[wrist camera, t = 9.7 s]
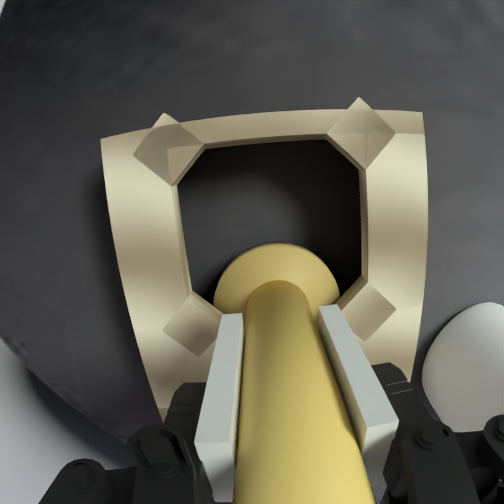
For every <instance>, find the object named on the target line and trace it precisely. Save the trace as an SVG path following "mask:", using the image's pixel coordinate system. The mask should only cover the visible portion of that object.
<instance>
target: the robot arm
mask: <svg viewBox="0 0 504 504" xmlns="http://www.w3.org/2000/svg"><path fill="white" fill-rule="evenodd" d="M318 330H319V333H320V335H321V338H322V341H323V344H324V346H325V349H326V352H327V355H328V358H329V360H330V363H331V366H332V369H333V372H334V375H335V378H336V380H337V383H338V386H339V389H340V392H341V395H342V398H343V401H344V404H345V407H346V410H347V412H348V415H349V418H350V421H351V424H352V427H353V430H354V433H355V437H356V440H357V443H358V446H359V449H360V452H361V455H362V458H363V461H364V464H365V468H366V471H367V474H368V477H369V480H370V484H371V487H372V486H377V485H380V482H381V479H382V476H383V475H384V478H385V481H386V484H387V488H386V490H385V493H384V495H383V498H382V500H381V502H380V504H504V415H497V416H494V417H492V418H491V419H490V420H488V421H487V423H486V425H485V427H484V429H483V430H481V431H471V432H453V431H452V429H451V428H450V427H449V426H447V425H446V424H444V423H442V422H438V421H434V420H433V419H432V418H431V416H430V415H429V413H428V411H427V410H426V408H425V406H424V405H423V403H422V402H421V400H420V398H419V397H418V395H417V394H416V392H415V390H413V387H412V386H411V384H410V383H409V382H408V379H407V378H406V376H405V375H404V373H403V372H402V370H401V369H400V368H398V367H397V366H395V365H394V364H392V363H391V362H387V363H381V364H376V365H370V363H369V361H368V359H367V358H366V356H365V354H364V352H363V350H362V348H361V346H360V344H359V343H358V341H357V339H356V337H355V335H354V333H353V332H352V330H351V328H350V326H349V324H348V323H347V321H346V319H345V317H344V315H343V314H342V312H341V310H340V308H339V306H338V305H337V304H335V305H326V306H318ZM244 338H245V336H244V327H243V319H242V313H237V314H222V318H221V322H220V327H219V331H218V335H217V340H216V344H215V349H214V353H213V358H212V362H211V367H210V371H209V376H208V380H207V382H184V383H183V384H182V385H181V386H180V387H179V388H178V389H177V390H176V391H175V392H174V394H173V397H172V400H171V403H170V406H169V408H168V411H167V415H166V417H165V420H164V423H163V426H161V425H155V426H149V427H145V428H143V429H141V430H139V431H137V432H135V433H134V434H133V435H132V436H131V437H130V438H129V440H128V442H127V444H126V447H127V449H128V451H129V453H130V455H131V457H132V459H133V461H134V463H135V464H136V466H134V467H130V468H124V469H114V470H105V469H104V467H103V466H102V465H101V464H100V463H99V462H97V461H94V460H92V459H85V458H83V459H78V460H74V461H72V462H70V463H68V464H66V465H65V467H63V469H62V470H61V471H60V472H59V474H58V475H57V477H56V478H55V480H54V481H53V483H52V484H51V486H50V487H49V489H48V490H47V491H46V493H45V495H44V496H43V498H42V499H41V501H40V502H39V504H211V500H212V495H213V497H214V500H215V502H233V489H234V475H235V464H236V450H237V436H238V422H239V408H240V393H241V379H242V365H243V352H244Z"/></svg>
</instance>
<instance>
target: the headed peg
mask: <svg viewBox="0 0 504 504" xmlns="http://www.w3.org/2000/svg"><path fill="white" fill-rule="evenodd" d="M339 299H340V294H339V289H338V286H337V283H336V280H335V279H334V277H333V275H332V273H331V272H330V270H329V269H328V268H327V266H326V265H325V264H324V262H323V261H322V260H321V259H320V258H319V257H318V256H317V255H315V254H314V253H313V252H311V251H309V250H308V249H306V248H304V247H301V246H299V245H296V244H292V243H287V242H269V243H263V244H259V245H256V246H253V247H251V248H249V249H247V250H245V251H243V252H242V253H240V254H239V255H238V256H236V257H235V258H234V259H233V260H232V261H231V262H230V263H229V264H228V266H227V267H226V268H225V270H224V272H223V273H222V275H221V277H220V280H219V283H218V285H217V288H216V291H215V296H214V305H213V306H214V307H215V308H216V309H218V310H219V311H220V312H222V313H223V314H237V313H242V319H243V327H244V336H245V338H244V352H243V365H242V379H241V393H240V408H239V422H238V436H237V450H236V464H235V475H234V489H233V503H232V504H377V503H376V500H375V497H374V493H373V490H372V487H371V484H370V480H369V477H368V474H367V471H366V468H365V464H364V461H363V458H362V455H361V452H360V449H359V446H358V443H357V440H356V437H355V433H354V430H353V427H352V424H351V421H350V418H349V415H348V412H347V410H346V407H345V404H344V401H343V398H342V395H341V392H340V389H339V386H338V383H337V380H336V378H335V375H334V372H333V369H332V366H331V363H330V360H329V358H328V355H327V352H326V349H325V346H324V344H323V341H322V338H321V335H320V333H319V330H318V306H326V305H334V304H335V303H336V302H337V301H338V300H339Z"/></svg>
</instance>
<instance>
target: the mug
mask: <svg viewBox="0 0 504 504" xmlns="http://www.w3.org/2000/svg"><path fill="white" fill-rule="evenodd" d="M422 385H423V388H424V392H425V394H426V396H427V398H428V400H429V402H430V403H431V405H432V407H433V408H434V410H435V411H436V413H437V415H438V416H439V418H440V419H441V421H442V423H444V424H446V425H447V426H449V427H450V428H451V429H452V431H453V432H471V431H481V430H483V429H484V427H485V425H486V423H487V421H488V420H490V419H491V418H492V417H494V416H497V415H504V306H502V305H499V304H496V303H491V302H487V303H480V304H476V305H474V306H471V307H469V308H467V309H465V310H464V311H462V312H461V313H459V314H458V315H457V316H455V317H454V318H453V319H452V320H451V321H450V322H449V323H448V324H447V325H446V326H445V327H444V328H443V329H442V330H441V332H440V333H439V334H438V336H437V337H436V339H435V340H434V342H433V343H432V345H431V347H430V349H429V351H428V353H427V355H426V358H425V361H424V364H423V370H422Z"/></svg>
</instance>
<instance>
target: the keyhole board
mask: <svg viewBox="0 0 504 504" xmlns="http://www.w3.org/2000/svg"><path fill="white" fill-rule="evenodd" d="M319 139H326V140H327V141H328V142H329V143H331V144H332V145H333V146H334V147H335V148H336V149H337V150H338V151H339V152H341V153H342V154H343V155H344V156H345V157H346V158H347V159H348V160H349V161H350V162H351V163H352V164H353V165H354V166H355V167H357V168H358V169H359V184H360V204H361V243H362V271H361V276H360V277H359V278H358V279H357V280H356V281H355V283H354V284H353V285H352V286H351V287H350V288H349V289H348V290H347V291H346V292H345V293H344V294H343V295H342V297H341V298H340V299H339V300H338V301H337V302H336V303H335V304H337V305H338V306H339V308H340V310H341V312H342V314H343V315H344V317H345V319H346V321H347V323H348V324H349V326H350V328H351V330H352V332H353V333H354V335H355V337H356V339H357V341H358V343H359V344H360V346H361V348H362V350H363V352H364V354H365V356H366V358H367V359H368V361H369V363H370V365H376V364H381V363H387V362H391V363H392V364H394V365H395V366H397V367H398V368H400V369H401V370H402V372H403V373H404V375H405V376H406V378H407V379H408V382H409V383H410V380H411V375H412V370H413V365H414V359H415V353H416V348H417V341H418V335H419V328H420V321H421V313H422V305H423V295H424V285H425V272H426V257H427V234H428V186H427V163H426V148H425V136H424V125H423V116H422V112H409V111H392V110H372V109H371V108H370V107H369V106H368V105H367V104H366V103H365V102H364V101H363V100H362V99H361V98H359V97H358V98H356V99H355V100H353V101H352V102H351V103H350V104H349V105H348V106H347V108H346V109H335V110H300V111H282V112H267V113H255V114H245V115H235V116H226V117H218V118H210V119H203V120H196V121H189V122H182V123H179V122H177V121H176V120H175V119H173V118H172V117H171V116H169V115H167V114H165V113H163V114H162V116H161V117H160V118H159V119H158V121H157V122H156V123H155V125H154V126H153V127H152V128H149V129H143V130H138V131H134V132H129V133H124V134H120V135H115V136H111V137H107V138H103V139H101V149H102V160H103V169H104V178H105V186H106V194H107V201H108V208H109V215H110V221H111V227H112V233H113V239H114V245H115V250H116V255H117V260H118V265H119V270H120V275H121V280H122V284H123V289H124V293H125V297H126V302H127V306H128V310H129V314H130V318H131V322H132V326H133V329H134V333H135V337H136V340H137V344H138V347H139V351H140V354H141V358H142V361H143V364H144V368H145V371H146V374H147V377H148V380H149V383H150V386H151V389H152V392H153V395H154V398H155V401H156V404H157V407H158V410H159V413H160V415H161V418H162V421H163V423H164V420H165V417H166V415H167V411H168V408H169V406H170V403H171V400H172V397H173V394H174V392H175V391H176V390H177V389H178V388H179V387H180V386H181V385H182V384H183V383H184V382H207V380H208V376H209V371H210V367H211V362H212V358H213V353H214V349H215V344H216V340H217V335H218V331H219V327H220V322H221V318H222V314H223V313H222V312H220V311H219V310H218V309H216V308H215V307H214V306H212V305H211V304H210V303H208V302H207V301H206V300H204V299H203V298H202V297H200V296H199V295H198V294H196V293H195V292H194V291H192V288H191V282H190V276H189V270H188V263H187V257H186V250H185V243H184V236H183V229H182V221H181V214H180V206H179V198H178V190H177V184H178V183H179V181H180V180H181V179H182V178H183V176H184V175H185V174H186V172H187V171H188V170H189V168H190V167H191V166H192V165H193V163H194V162H195V161H196V160H197V158H198V157H199V156H200V155H201V153H202V152H203V151H204V150H205V149H211V148H219V147H228V146H237V145H247V144H258V143H269V142H283V141H299V140H319ZM335 304H334V305H335Z"/></svg>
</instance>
